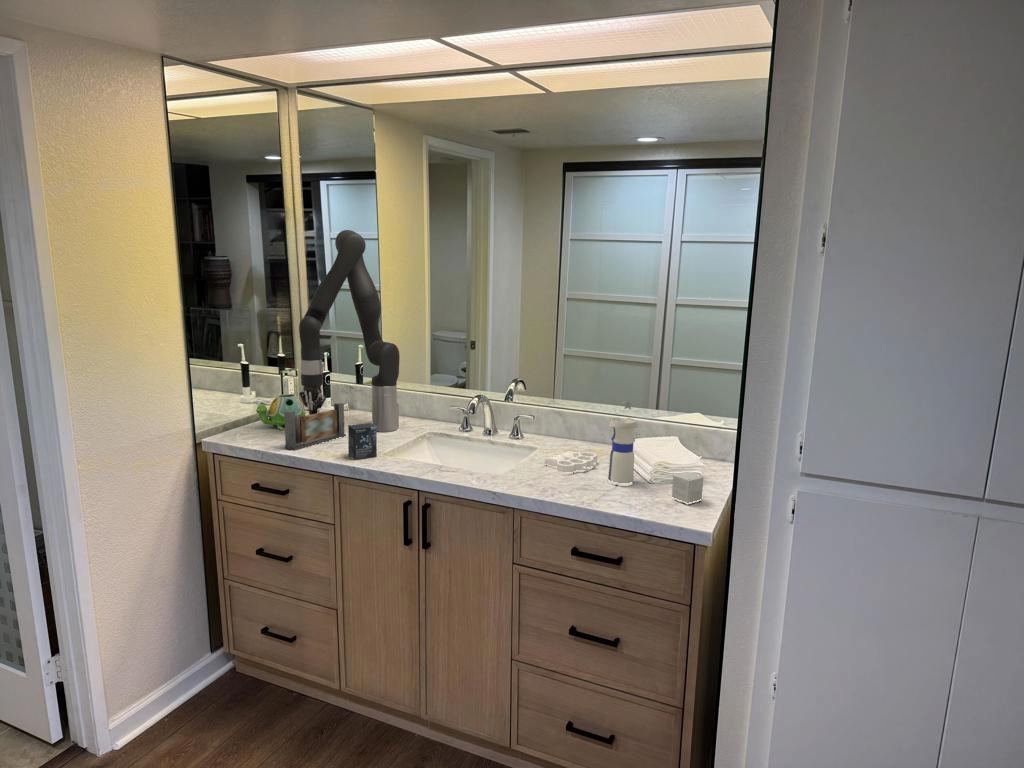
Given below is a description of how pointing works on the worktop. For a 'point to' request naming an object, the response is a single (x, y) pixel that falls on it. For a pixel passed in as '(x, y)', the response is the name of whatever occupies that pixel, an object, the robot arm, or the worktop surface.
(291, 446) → the gate frame
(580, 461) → the knuckle duster
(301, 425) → the gate
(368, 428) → the box
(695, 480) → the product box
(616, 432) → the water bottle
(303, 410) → the turtle holder
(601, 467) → the worktop surface
